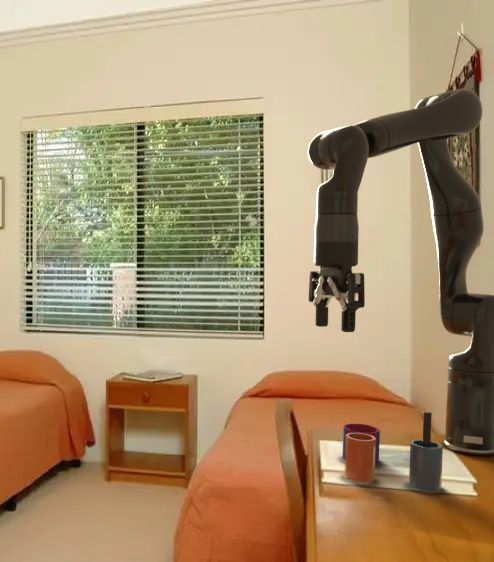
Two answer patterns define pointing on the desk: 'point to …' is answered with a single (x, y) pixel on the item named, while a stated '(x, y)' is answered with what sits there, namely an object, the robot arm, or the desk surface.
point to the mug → (366, 430)
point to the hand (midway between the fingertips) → (334, 329)
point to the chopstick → (426, 429)
